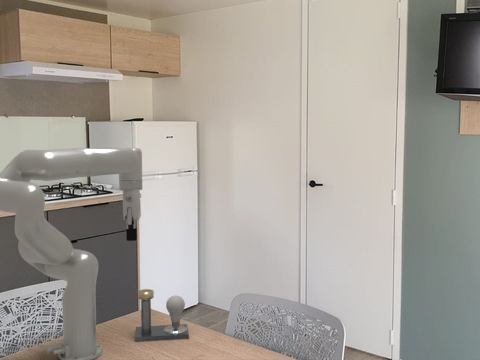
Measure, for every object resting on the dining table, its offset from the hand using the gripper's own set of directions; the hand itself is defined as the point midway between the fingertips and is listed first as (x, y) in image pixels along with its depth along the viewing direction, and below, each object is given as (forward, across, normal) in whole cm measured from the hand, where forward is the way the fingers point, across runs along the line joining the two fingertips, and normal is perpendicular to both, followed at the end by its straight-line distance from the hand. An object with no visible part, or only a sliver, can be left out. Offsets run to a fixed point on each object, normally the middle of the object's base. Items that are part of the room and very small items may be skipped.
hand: (131, 240), depth 176 cm
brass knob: (+22, -6, -5) cm, 24 cm away
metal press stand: (+31, -6, -10) cm, 33 cm away
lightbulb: (+29, -5, -14) cm, 33 cm away
